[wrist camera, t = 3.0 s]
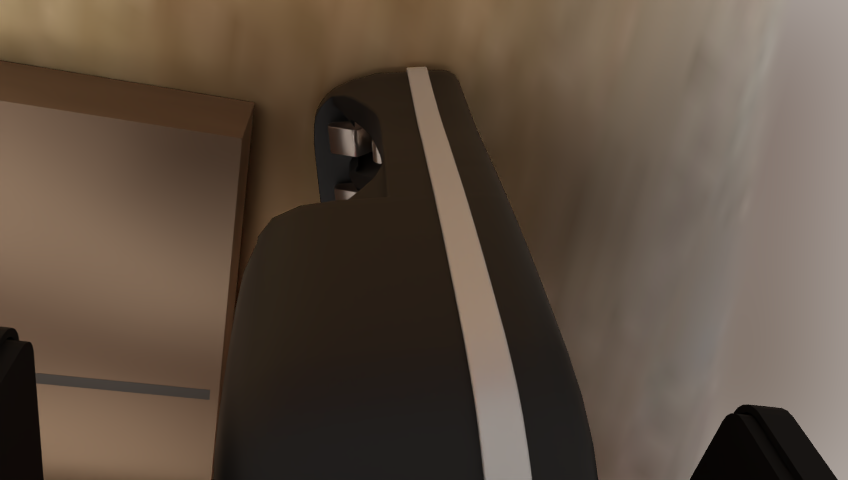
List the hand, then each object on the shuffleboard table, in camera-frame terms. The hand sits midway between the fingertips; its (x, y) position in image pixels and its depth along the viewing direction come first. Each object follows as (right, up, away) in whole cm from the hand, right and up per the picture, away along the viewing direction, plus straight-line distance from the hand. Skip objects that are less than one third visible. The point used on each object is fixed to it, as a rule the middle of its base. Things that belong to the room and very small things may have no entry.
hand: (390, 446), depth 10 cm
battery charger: (-1, +4, +7) cm, 8 cm away
